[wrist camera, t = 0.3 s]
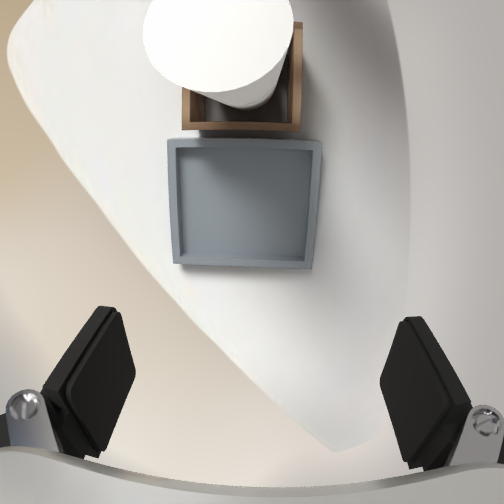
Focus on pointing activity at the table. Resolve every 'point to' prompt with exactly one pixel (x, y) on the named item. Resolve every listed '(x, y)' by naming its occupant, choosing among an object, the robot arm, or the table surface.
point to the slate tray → (243, 201)
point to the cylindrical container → (220, 46)
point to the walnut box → (195, 121)
